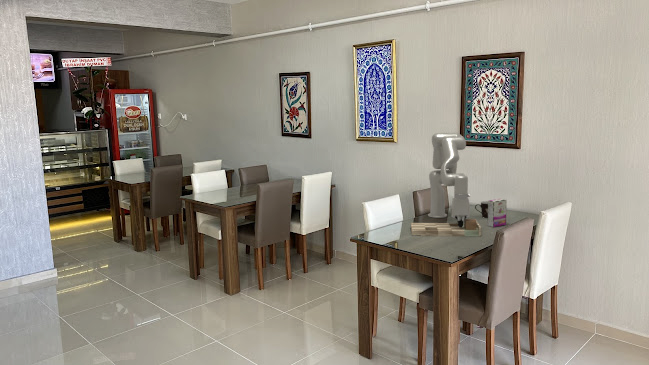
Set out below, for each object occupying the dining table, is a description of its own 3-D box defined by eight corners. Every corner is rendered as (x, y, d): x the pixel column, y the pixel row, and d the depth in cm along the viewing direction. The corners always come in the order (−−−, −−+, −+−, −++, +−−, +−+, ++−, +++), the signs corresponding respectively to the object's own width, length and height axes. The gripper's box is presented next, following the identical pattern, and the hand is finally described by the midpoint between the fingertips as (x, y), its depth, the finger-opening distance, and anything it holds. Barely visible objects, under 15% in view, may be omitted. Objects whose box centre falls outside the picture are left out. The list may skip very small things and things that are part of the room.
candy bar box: (500, 223, 308) (500, 198, 305) (506, 225, 303) (507, 199, 301) (487, 226, 303) (487, 200, 300) (493, 227, 298) (494, 201, 296)
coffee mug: (495, 216, 327) (495, 201, 326) (492, 219, 320) (492, 204, 319) (477, 214, 334) (478, 200, 332) (474, 217, 326) (474, 202, 325)
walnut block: (464, 227, 289) (464, 219, 288) (474, 227, 289) (474, 219, 288) (465, 229, 283) (465, 221, 283) (476, 229, 283) (476, 221, 282)
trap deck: (410, 227, 304) (410, 219, 303) (475, 228, 298) (475, 219, 297) (411, 235, 285) (411, 226, 284) (480, 236, 280) (480, 226, 279)
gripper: (473, 195, 286) (472, 225, 289) (447, 195, 288) (446, 225, 291) (475, 197, 279) (474, 228, 281) (448, 197, 281) (448, 228, 284)
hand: (460, 227), depth 286 cm, fingers closed
